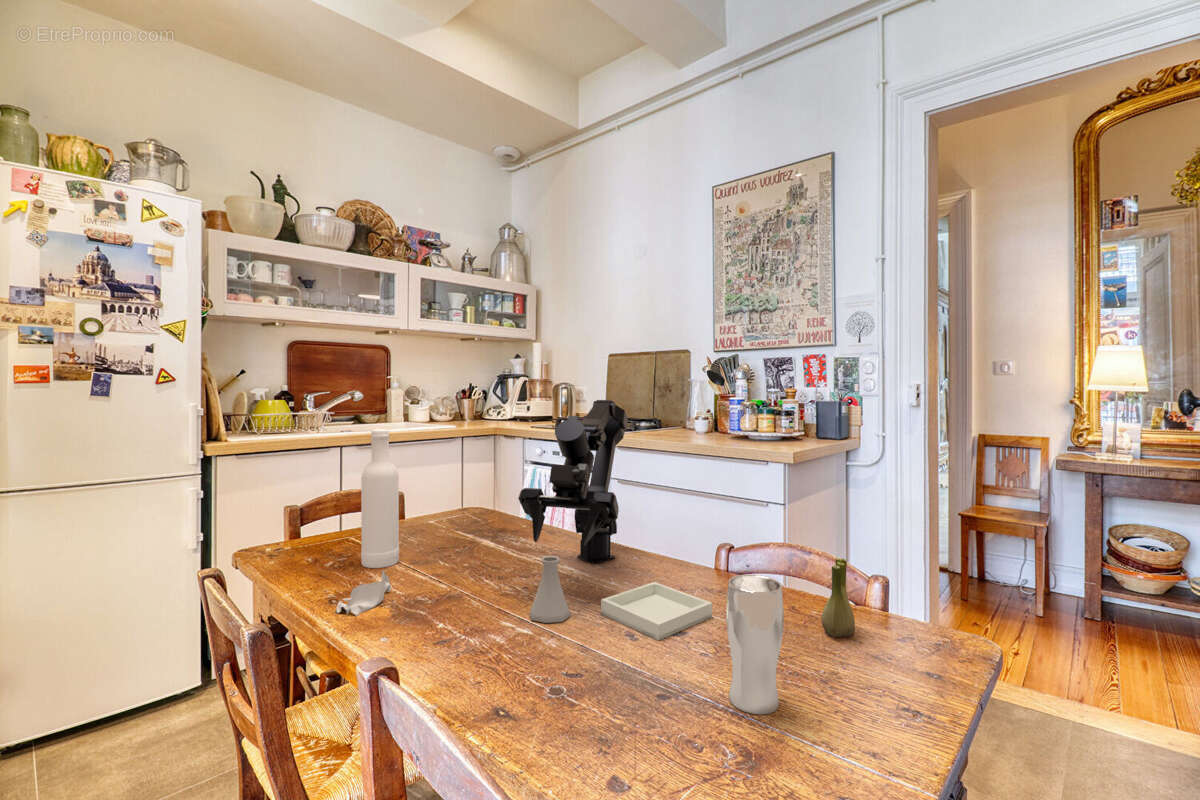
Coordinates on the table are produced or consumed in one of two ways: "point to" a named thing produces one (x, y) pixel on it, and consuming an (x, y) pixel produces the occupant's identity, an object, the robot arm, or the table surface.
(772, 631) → the beer glass
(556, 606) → the flask
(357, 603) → the wrapped candy
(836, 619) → the fennel bulb
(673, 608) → the tray
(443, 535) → the table surface
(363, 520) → the bottle
